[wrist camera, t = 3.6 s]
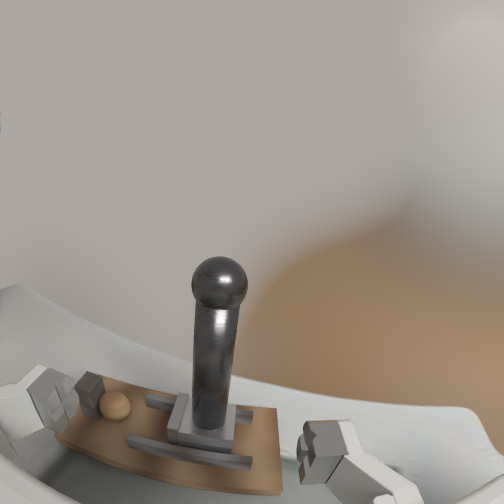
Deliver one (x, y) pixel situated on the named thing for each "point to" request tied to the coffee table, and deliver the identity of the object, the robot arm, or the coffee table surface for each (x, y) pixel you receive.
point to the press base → (156, 440)
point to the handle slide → (211, 359)
